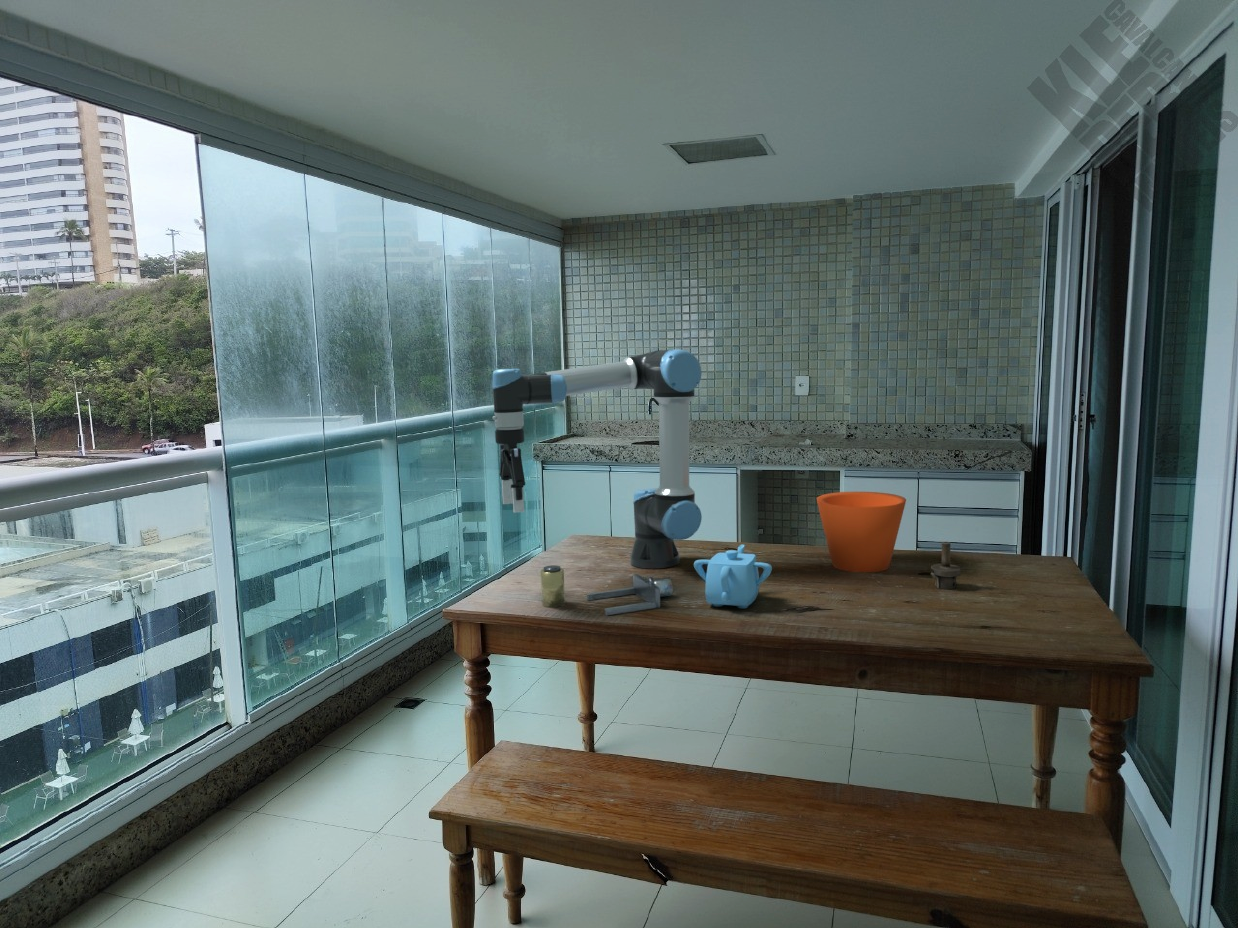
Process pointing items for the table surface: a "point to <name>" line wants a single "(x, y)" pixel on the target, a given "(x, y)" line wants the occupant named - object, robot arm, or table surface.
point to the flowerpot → (861, 528)
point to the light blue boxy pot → (732, 578)
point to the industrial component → (945, 570)
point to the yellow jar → (552, 586)
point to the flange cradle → (642, 588)
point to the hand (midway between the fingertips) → (513, 507)
